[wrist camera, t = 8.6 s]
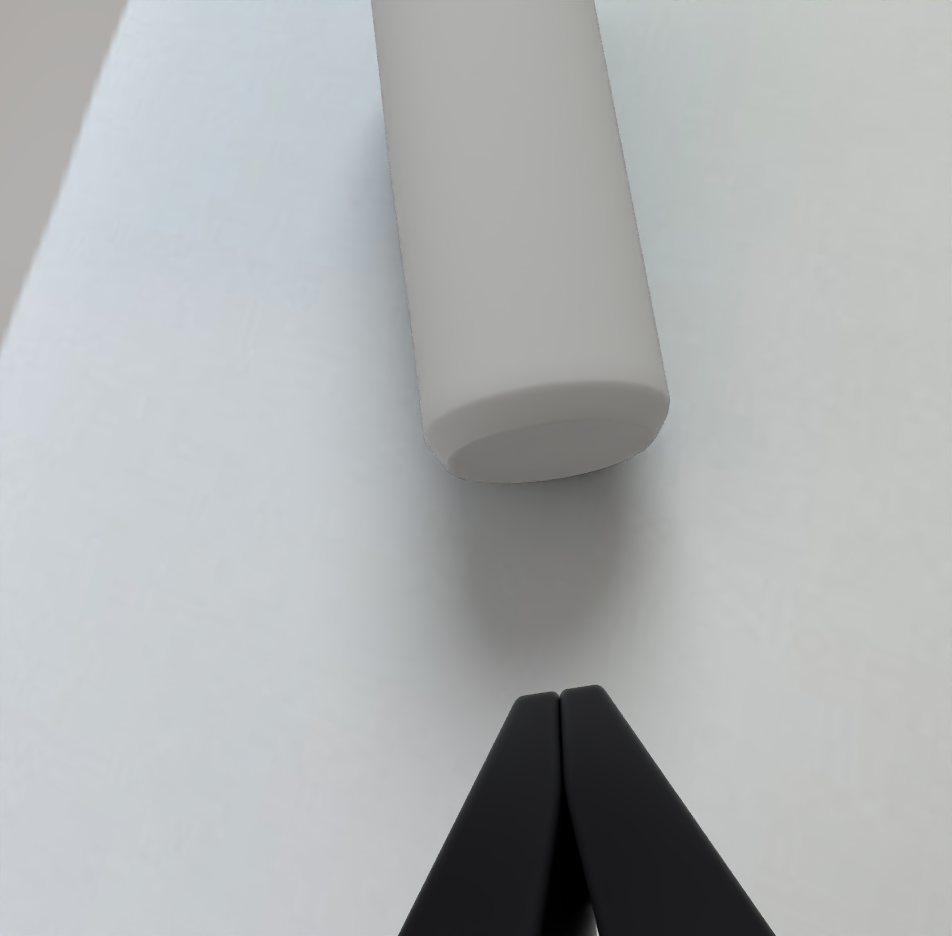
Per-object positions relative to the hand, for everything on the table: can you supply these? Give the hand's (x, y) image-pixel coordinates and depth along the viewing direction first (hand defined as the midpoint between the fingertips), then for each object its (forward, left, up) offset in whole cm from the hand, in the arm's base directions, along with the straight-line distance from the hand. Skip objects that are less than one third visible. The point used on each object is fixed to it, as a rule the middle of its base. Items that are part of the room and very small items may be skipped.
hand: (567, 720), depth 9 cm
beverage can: (+4, +1, -7) cm, 9 cm away
